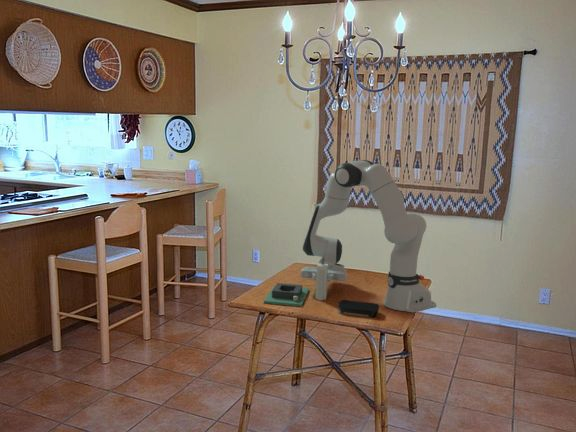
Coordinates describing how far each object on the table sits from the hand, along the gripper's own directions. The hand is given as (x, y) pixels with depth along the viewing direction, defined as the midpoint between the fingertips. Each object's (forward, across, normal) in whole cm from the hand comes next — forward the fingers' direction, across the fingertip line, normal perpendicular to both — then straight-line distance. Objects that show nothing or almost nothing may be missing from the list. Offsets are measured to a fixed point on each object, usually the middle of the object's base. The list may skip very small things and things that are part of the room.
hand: (321, 278), depth 226 cm
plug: (-1, 0, +9) cm, 9 cm away
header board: (+1, -15, +9) cm, 17 cm away
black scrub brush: (+13, +17, +10) cm, 23 cm away
